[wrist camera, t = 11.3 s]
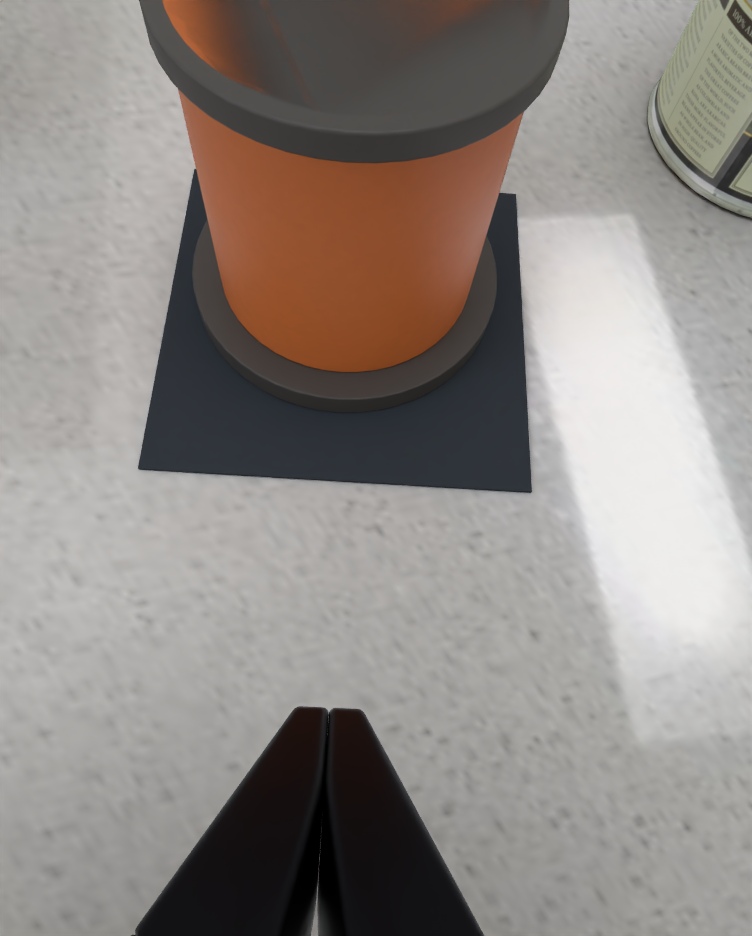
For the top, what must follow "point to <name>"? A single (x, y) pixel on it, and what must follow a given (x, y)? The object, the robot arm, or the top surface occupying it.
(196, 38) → the spool
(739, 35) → the coffee can
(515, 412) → the mat
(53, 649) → the top surface
